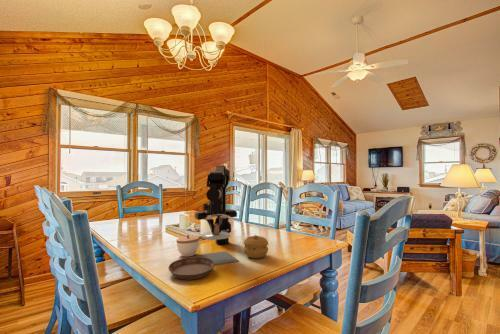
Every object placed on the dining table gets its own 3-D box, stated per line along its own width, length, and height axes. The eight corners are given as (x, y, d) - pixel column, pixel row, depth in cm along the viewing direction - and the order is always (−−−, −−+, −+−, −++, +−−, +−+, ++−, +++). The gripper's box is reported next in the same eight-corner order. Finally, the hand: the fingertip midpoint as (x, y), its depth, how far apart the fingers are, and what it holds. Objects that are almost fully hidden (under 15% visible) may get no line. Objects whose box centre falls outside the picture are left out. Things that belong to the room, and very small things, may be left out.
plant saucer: (218, 278, 97) (217, 270, 97) (168, 285, 92) (168, 276, 92) (211, 262, 114) (211, 255, 114) (168, 266, 109) (168, 259, 109)
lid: (224, 231, 129) (224, 220, 129) (234, 237, 117) (234, 225, 117) (198, 234, 123) (198, 223, 123) (206, 241, 111) (206, 228, 111)
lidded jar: (194, 258, 119) (193, 237, 119) (172, 257, 121) (172, 237, 121) (203, 251, 129) (202, 232, 130) (183, 251, 132) (182, 232, 132)
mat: (226, 251, 131) (226, 251, 131) (238, 261, 116) (238, 260, 116) (194, 256, 123) (194, 255, 123) (203, 267, 109) (203, 266, 109)
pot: (240, 254, 127) (240, 233, 127) (262, 251, 131) (262, 231, 131) (248, 262, 116) (248, 239, 116) (272, 259, 120) (272, 237, 120)
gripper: (228, 197, 132) (228, 228, 131) (191, 198, 123) (191, 231, 123) (237, 199, 122) (237, 232, 121) (198, 200, 114) (197, 236, 113)
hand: (216, 233), depth 120 cm, fingers closed on lid, 3 cm apart
